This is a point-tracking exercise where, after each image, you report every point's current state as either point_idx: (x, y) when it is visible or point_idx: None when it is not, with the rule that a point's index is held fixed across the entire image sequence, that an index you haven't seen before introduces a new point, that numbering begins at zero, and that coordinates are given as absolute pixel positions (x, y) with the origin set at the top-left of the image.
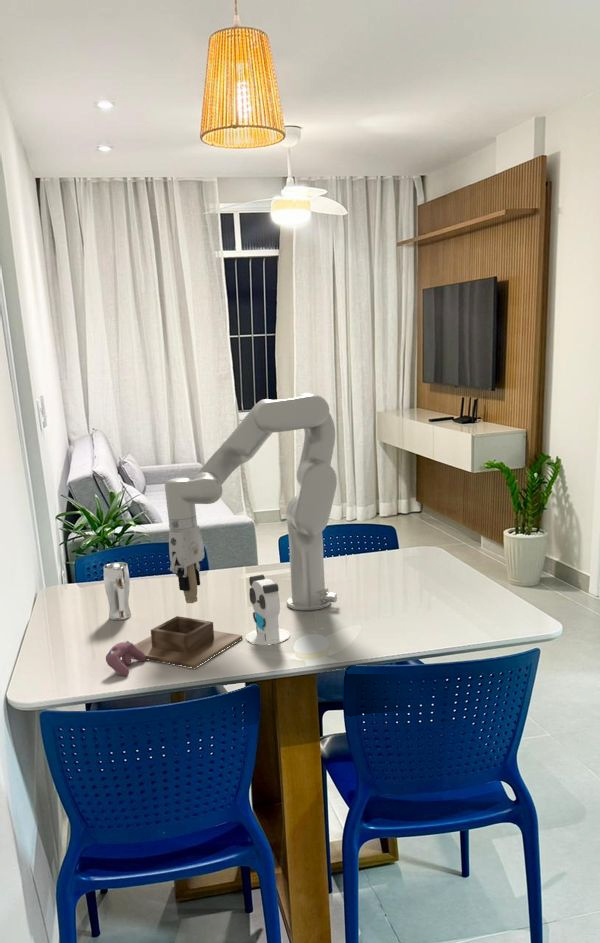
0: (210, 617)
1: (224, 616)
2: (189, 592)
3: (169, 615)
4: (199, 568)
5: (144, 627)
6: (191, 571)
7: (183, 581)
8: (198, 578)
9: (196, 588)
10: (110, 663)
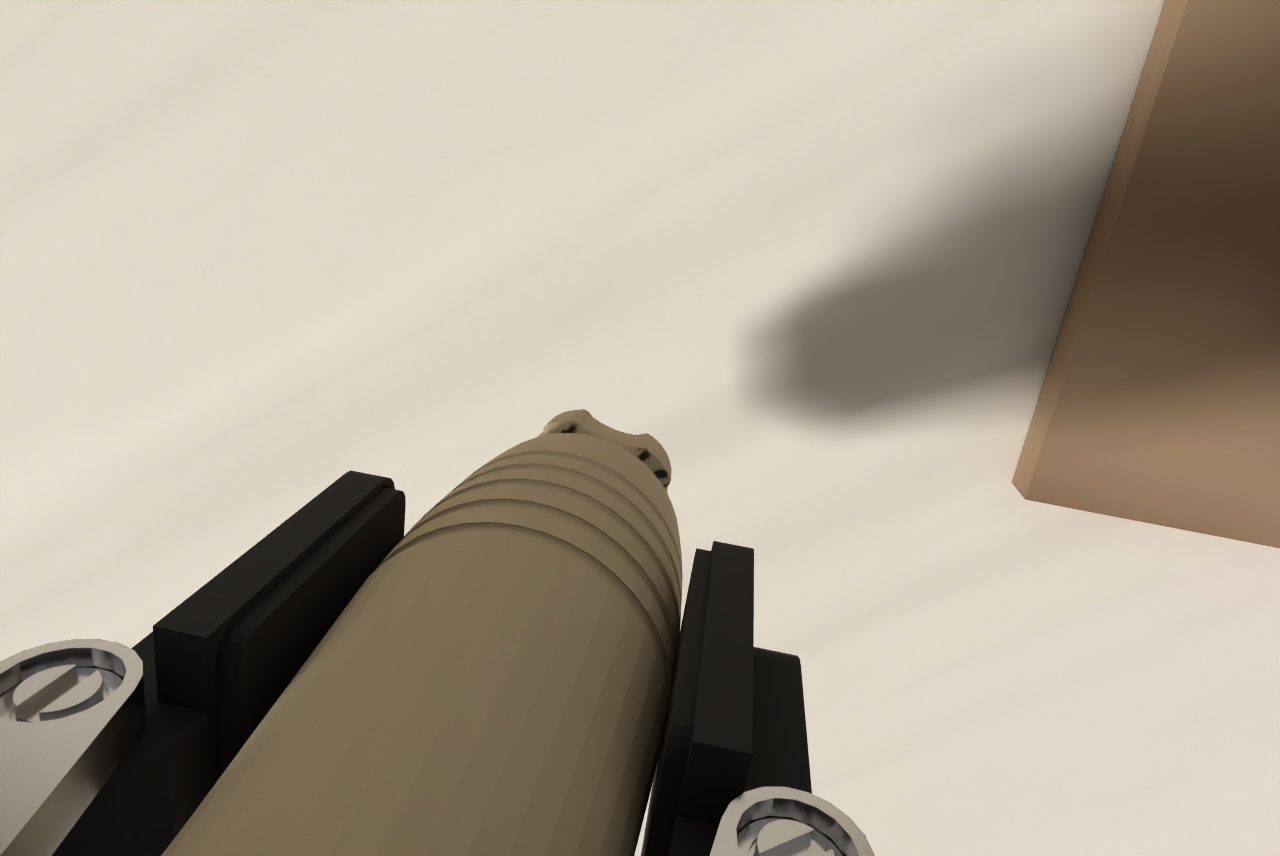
0: (597, 193)
1: (518, 17)
2: (669, 543)
3: None
4: (14, 680)
5: (1041, 788)
6: (480, 786)
7: (804, 766)
8: (315, 542)
9: (524, 470)
10: None
